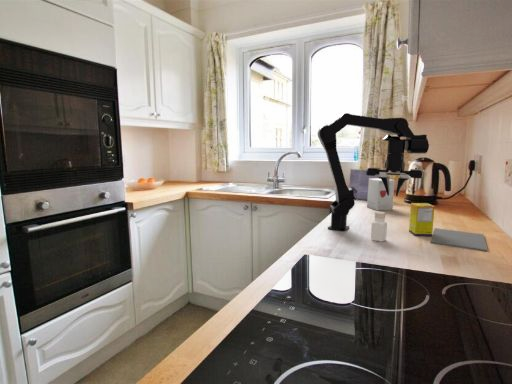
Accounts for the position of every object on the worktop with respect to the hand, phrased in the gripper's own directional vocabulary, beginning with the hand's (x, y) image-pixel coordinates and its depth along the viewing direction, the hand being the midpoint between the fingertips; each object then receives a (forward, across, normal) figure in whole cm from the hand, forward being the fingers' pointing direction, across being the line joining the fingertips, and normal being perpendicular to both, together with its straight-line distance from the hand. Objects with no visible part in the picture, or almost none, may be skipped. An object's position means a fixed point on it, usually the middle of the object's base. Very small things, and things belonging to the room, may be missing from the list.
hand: (392, 195), depth 116 cm
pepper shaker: (+13, +1, +16) cm, 21 cm away
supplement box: (+13, -10, 0) cm, 17 cm away
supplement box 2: (+13, +12, -40) cm, 44 cm away
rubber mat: (+13, -22, 0) cm, 25 cm away
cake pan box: (+13, +25, -64) cm, 70 cm away
